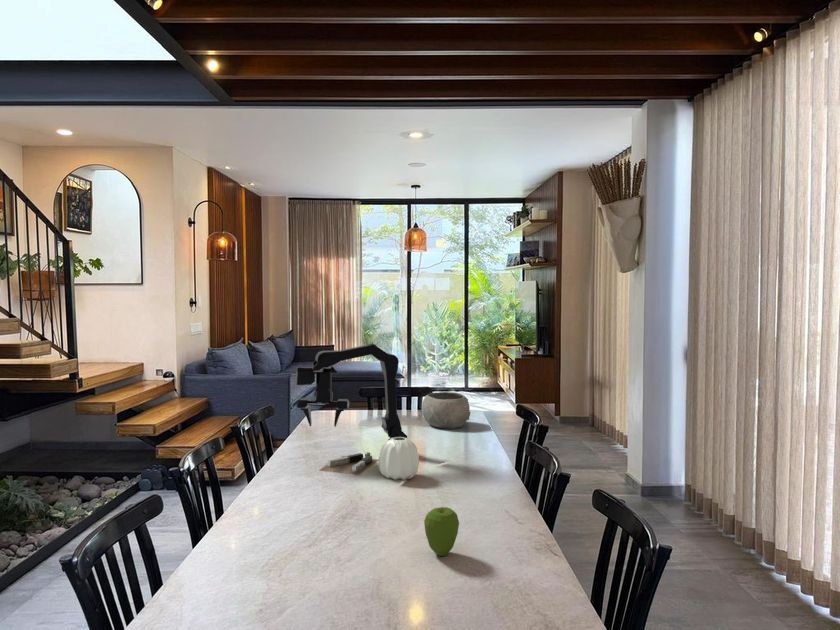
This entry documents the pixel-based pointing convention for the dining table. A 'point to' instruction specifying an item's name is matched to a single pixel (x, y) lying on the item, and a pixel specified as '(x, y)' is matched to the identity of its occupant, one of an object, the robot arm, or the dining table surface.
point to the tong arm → (345, 460)
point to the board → (347, 467)
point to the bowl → (446, 409)
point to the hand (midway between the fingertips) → (322, 426)
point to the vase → (399, 459)
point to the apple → (441, 529)
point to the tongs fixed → (362, 463)
